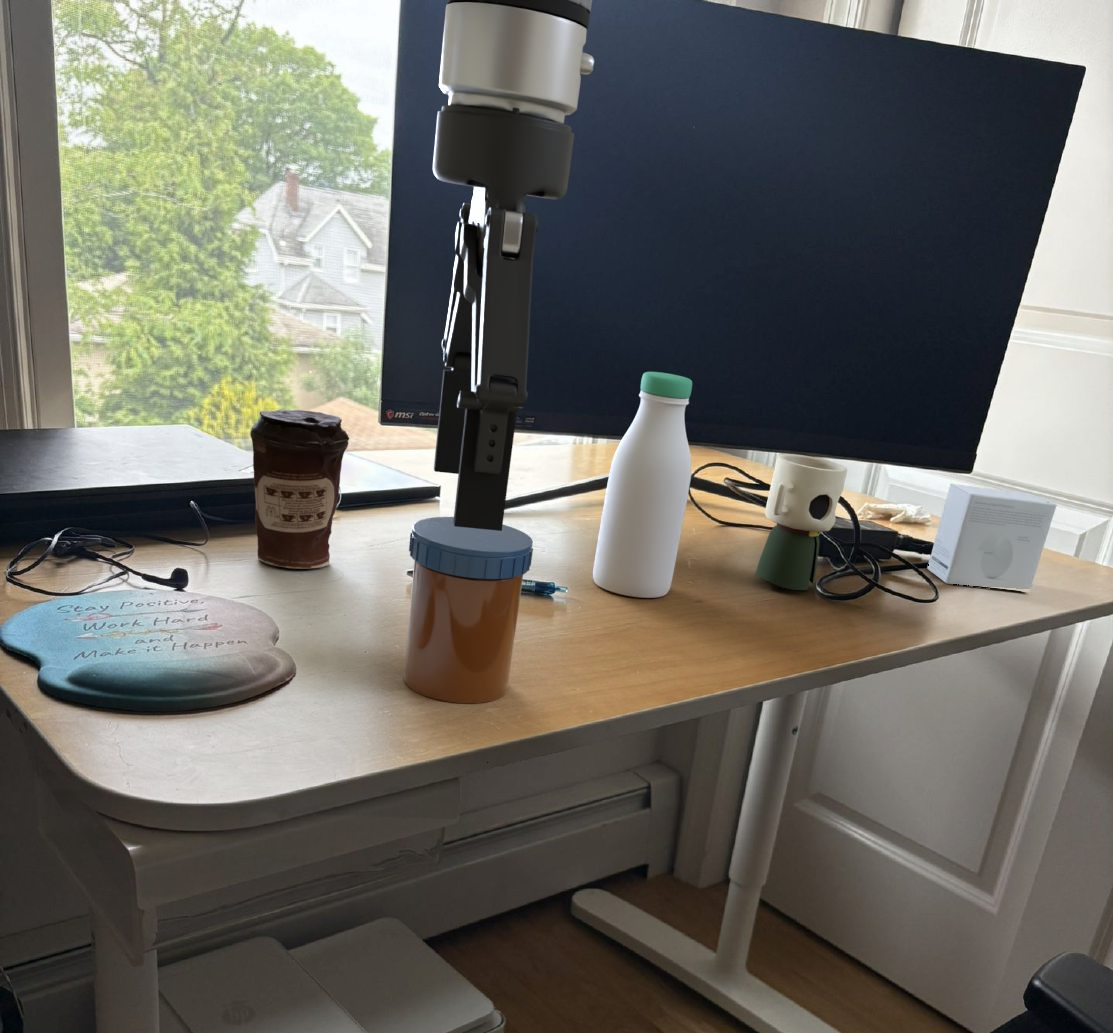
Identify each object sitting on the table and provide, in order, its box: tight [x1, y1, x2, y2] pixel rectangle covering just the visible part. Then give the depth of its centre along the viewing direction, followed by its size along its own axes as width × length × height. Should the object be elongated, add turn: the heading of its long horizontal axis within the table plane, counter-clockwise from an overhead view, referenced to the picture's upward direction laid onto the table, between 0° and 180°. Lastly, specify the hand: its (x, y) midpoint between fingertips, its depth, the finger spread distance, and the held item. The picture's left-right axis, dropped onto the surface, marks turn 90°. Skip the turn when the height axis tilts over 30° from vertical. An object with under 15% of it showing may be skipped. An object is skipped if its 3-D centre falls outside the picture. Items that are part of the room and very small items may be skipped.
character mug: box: [754, 453, 848, 591], centre depth 117 cm, size 11×7×13 cm, turn 138°
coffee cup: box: [249, 409, 350, 570], centre depth 100 cm, size 9×8×13 cm
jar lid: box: [408, 516, 534, 579], centre depth 78 cm, size 8×8×2 cm
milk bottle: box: [592, 371, 693, 599], centre depth 107 cm, size 8×8×20 cm
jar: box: [402, 560, 524, 704], centre depth 80 cm, size 8×8×11 cm
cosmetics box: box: [927, 483, 1057, 590], centre depth 131 cm, size 10×6×10 cm, turn 94°
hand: (464, 498), depth 71 cm, fingers open, 13 cm apart
